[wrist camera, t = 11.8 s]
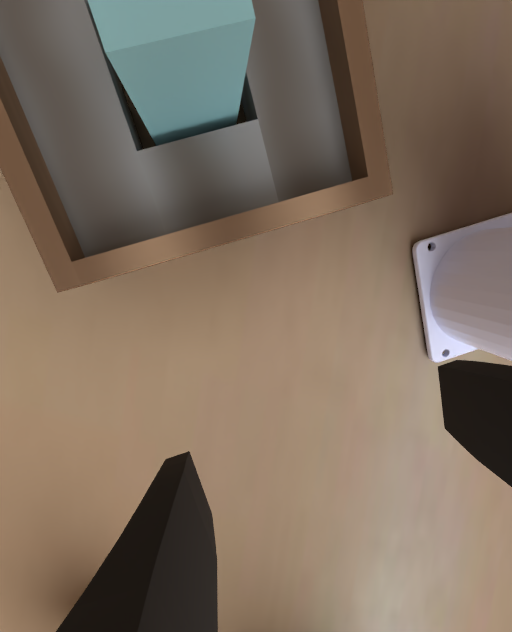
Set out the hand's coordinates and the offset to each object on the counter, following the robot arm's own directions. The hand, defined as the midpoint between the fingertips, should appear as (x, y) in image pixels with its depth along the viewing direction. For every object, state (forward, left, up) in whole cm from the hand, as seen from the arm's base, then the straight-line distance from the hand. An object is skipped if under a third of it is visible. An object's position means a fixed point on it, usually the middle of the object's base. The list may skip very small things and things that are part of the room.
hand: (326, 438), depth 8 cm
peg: (+1, -13, -10) cm, 17 cm away
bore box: (+1, -13, -10) cm, 17 cm away
